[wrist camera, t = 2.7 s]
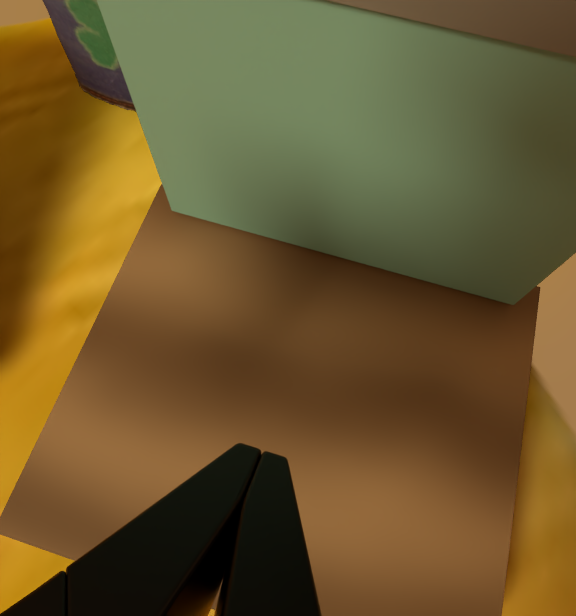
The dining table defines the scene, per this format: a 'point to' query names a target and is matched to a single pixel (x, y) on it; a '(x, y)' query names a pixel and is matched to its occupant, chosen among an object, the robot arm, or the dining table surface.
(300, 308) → the brown flat block
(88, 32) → the flask
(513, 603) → the dining table surface
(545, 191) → the tailgate
